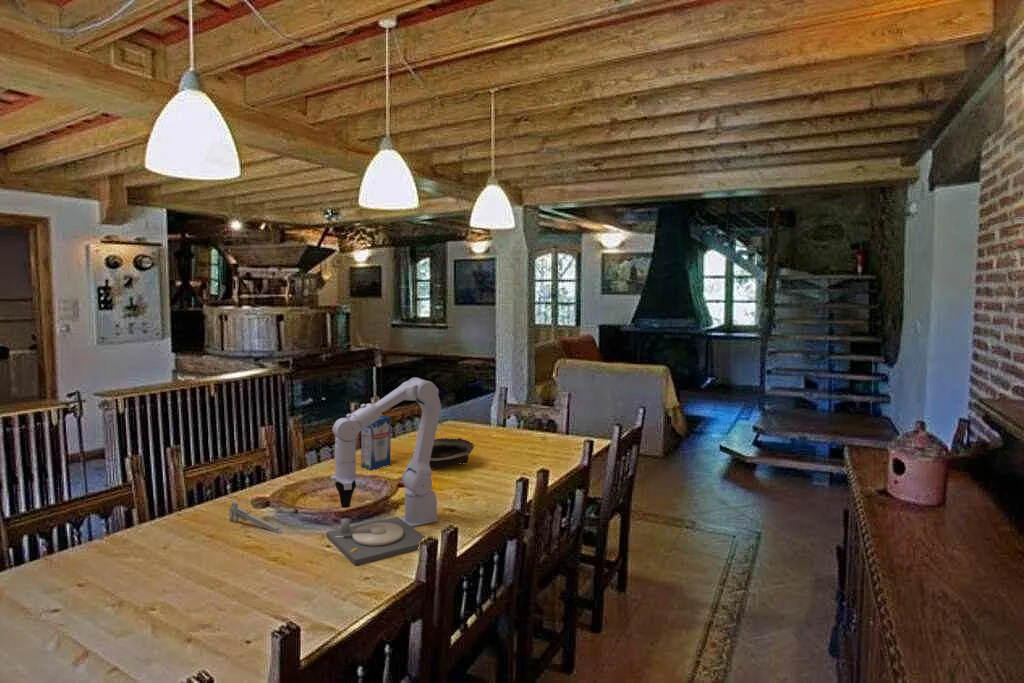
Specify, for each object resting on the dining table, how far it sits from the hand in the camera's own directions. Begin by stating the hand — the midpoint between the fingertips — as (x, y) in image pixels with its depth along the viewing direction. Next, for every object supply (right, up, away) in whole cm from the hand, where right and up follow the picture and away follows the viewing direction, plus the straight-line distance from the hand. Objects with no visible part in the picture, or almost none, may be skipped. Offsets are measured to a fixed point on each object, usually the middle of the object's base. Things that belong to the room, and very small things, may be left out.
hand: (345, 506), depth 173 cm
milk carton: (-7, -3, +70) cm, 71 cm away
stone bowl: (+20, -4, +74) cm, 76 cm away
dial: (+9, -7, -4) cm, 12 cm away
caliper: (-28, -8, +6) cm, 30 cm away
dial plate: (+10, -9, -3) cm, 14 cm away
